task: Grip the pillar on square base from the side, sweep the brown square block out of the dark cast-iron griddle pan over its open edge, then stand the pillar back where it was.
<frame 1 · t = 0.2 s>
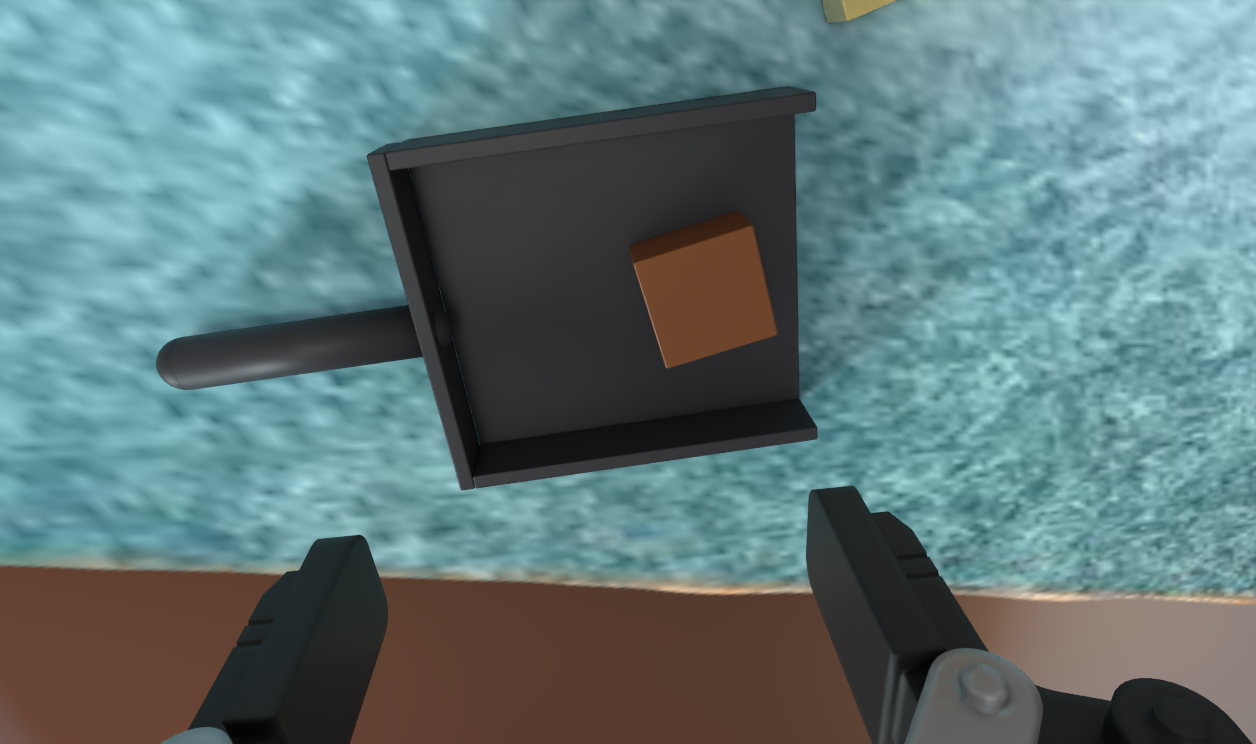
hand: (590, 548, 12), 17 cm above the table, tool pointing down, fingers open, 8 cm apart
pan: (621, 285, 28), on the table
brown square block: (697, 279, 27), point 1 cm above the table, touching pan
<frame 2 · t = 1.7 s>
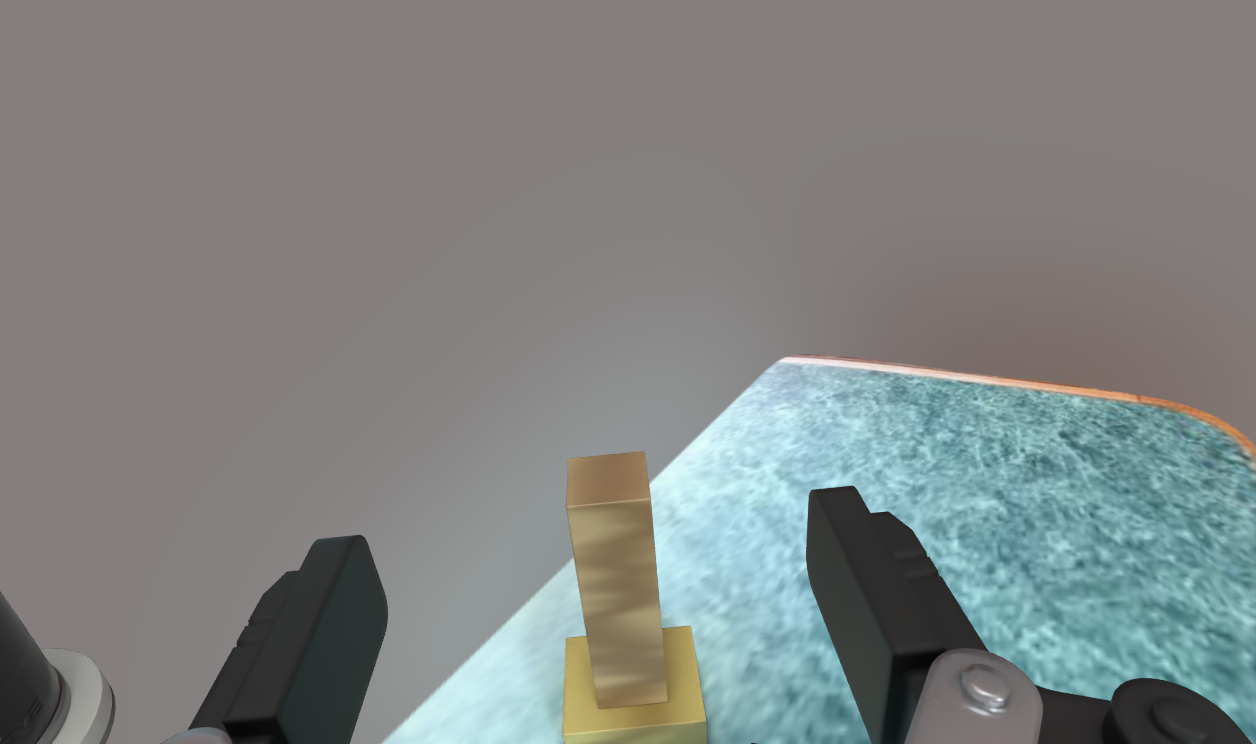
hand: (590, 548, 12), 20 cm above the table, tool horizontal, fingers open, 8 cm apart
pillar on square base: (634, 705, 32), on the table
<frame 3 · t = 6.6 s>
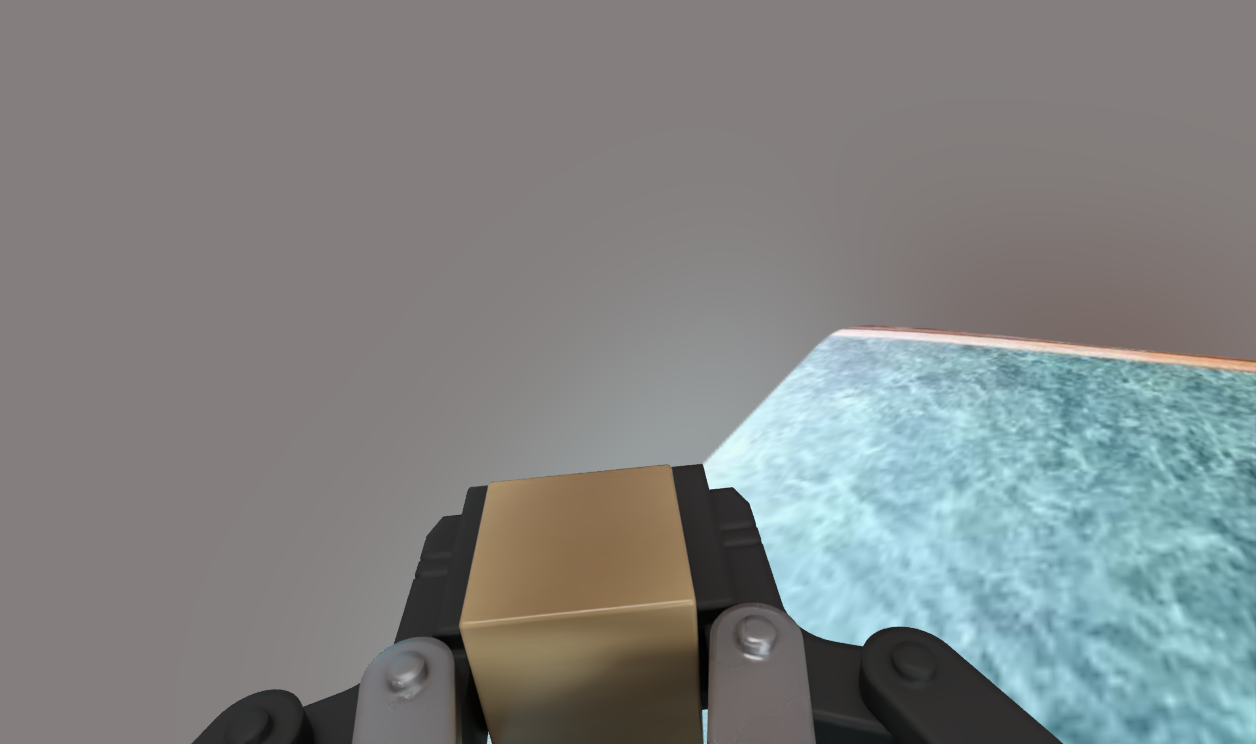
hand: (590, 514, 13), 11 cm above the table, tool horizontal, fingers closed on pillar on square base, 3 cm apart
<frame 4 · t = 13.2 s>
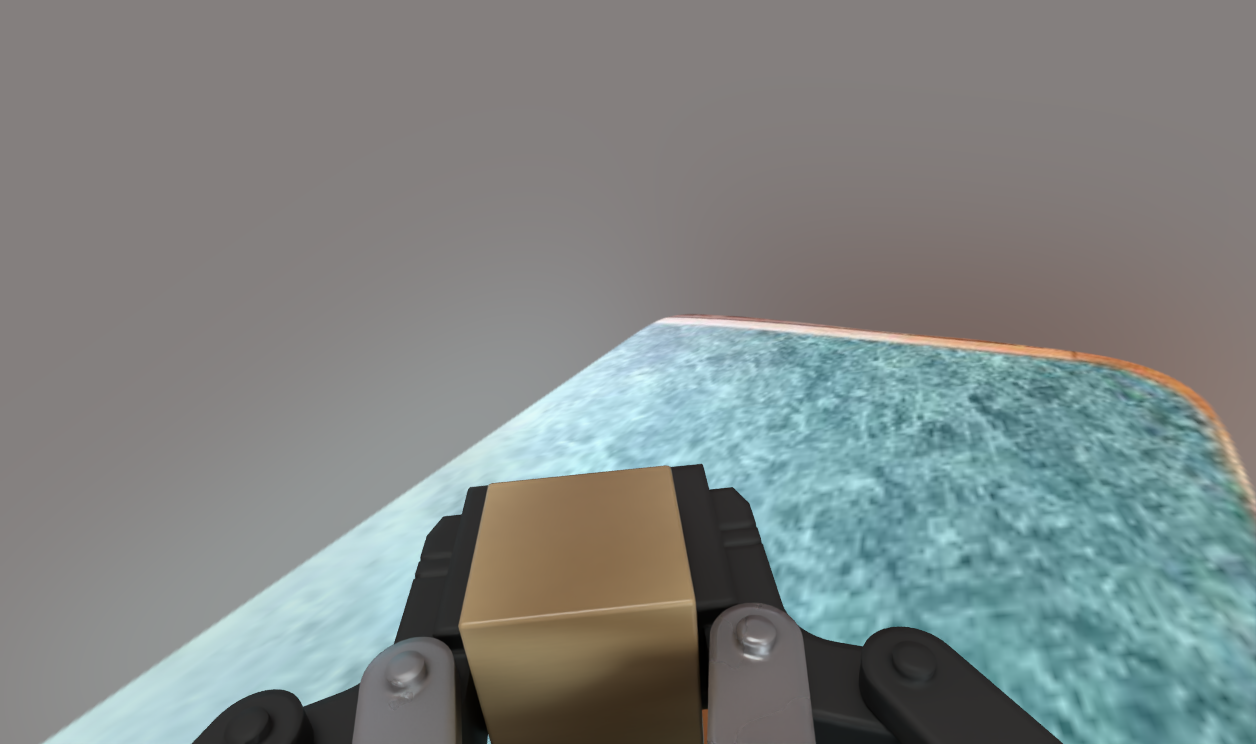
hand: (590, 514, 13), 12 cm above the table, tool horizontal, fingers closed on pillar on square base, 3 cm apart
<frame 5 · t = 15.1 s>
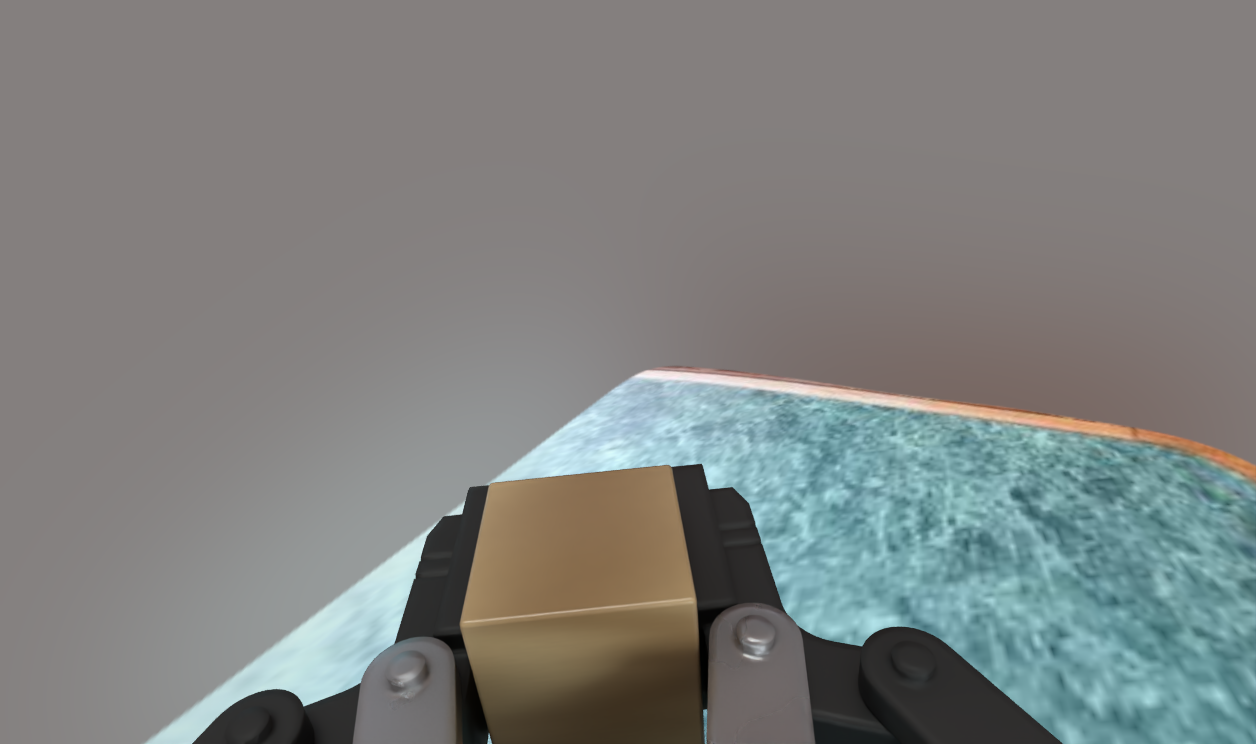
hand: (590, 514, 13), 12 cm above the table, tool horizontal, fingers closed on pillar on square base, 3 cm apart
when the fingers open (11 cm above the table, at t = 21.2 s): pillar on square base stays where it is, on the table.
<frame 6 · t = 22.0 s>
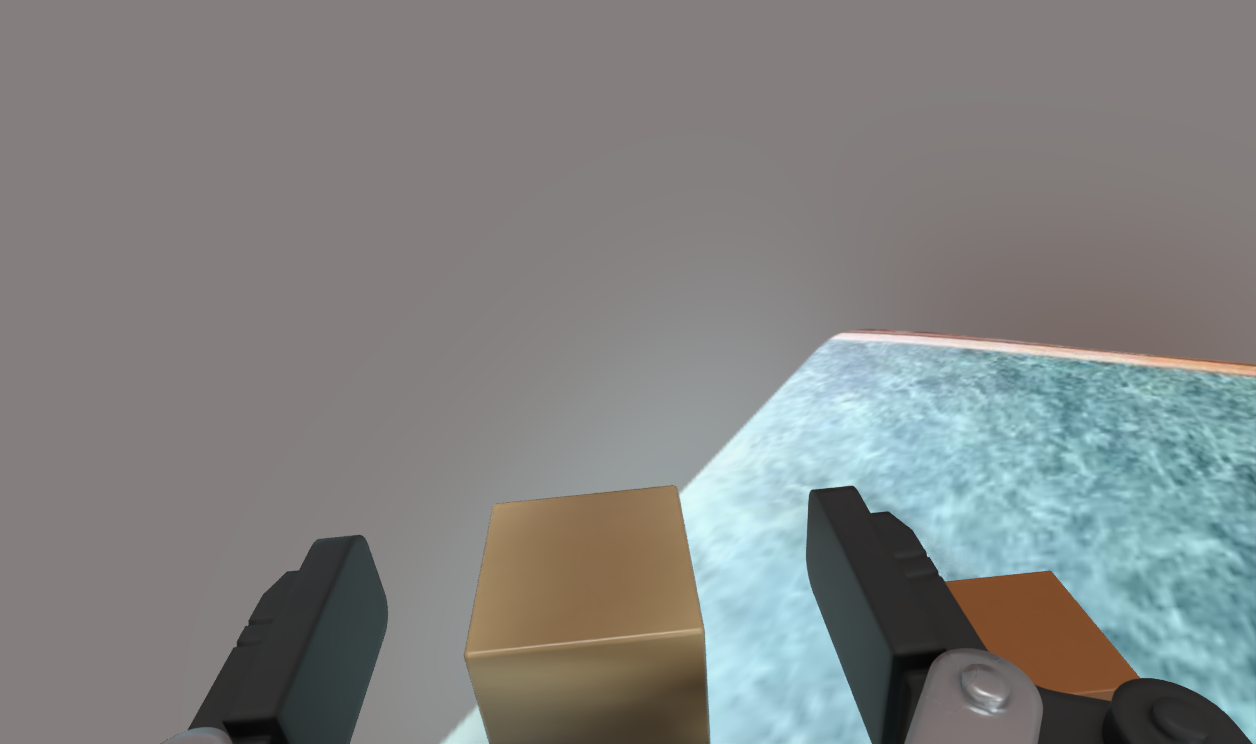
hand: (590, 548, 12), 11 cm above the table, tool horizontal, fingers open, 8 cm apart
brown square block: (1008, 683, 22), on the table
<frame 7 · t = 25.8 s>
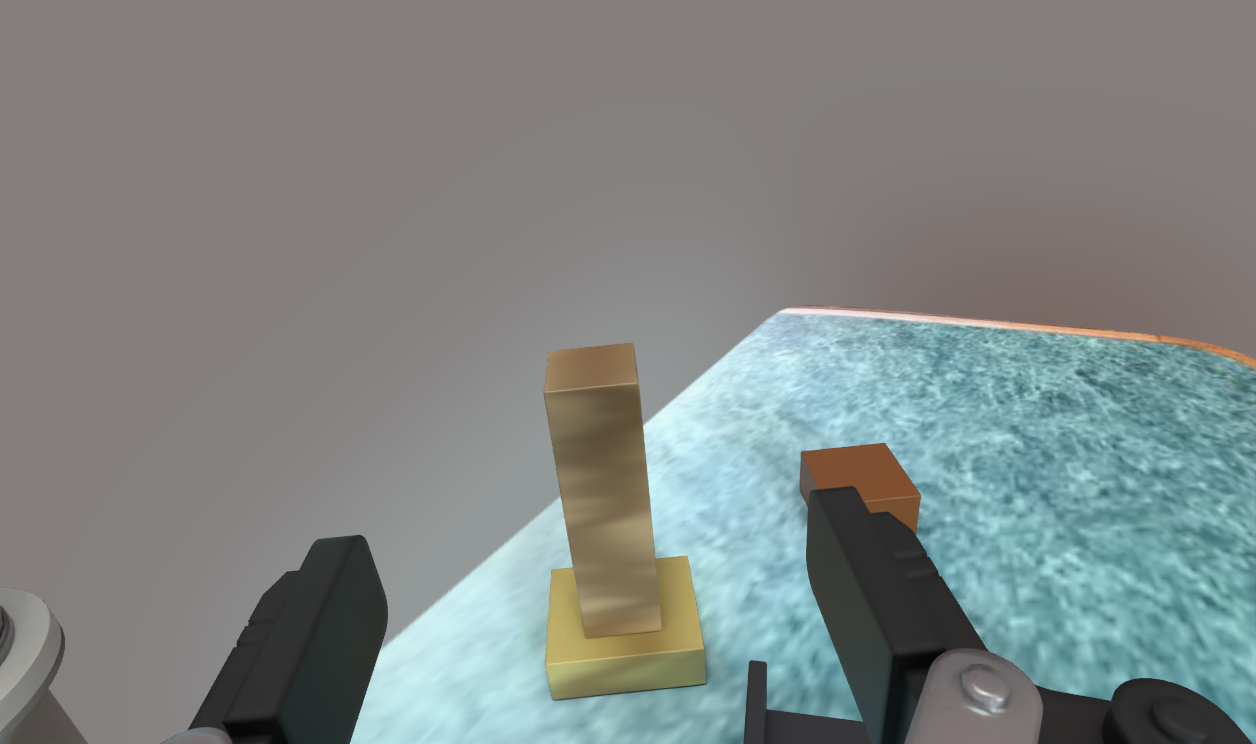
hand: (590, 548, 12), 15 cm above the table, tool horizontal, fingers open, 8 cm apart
pillar on square base: (626, 640, 29), on the table
brown square block: (854, 510, 35), on the table
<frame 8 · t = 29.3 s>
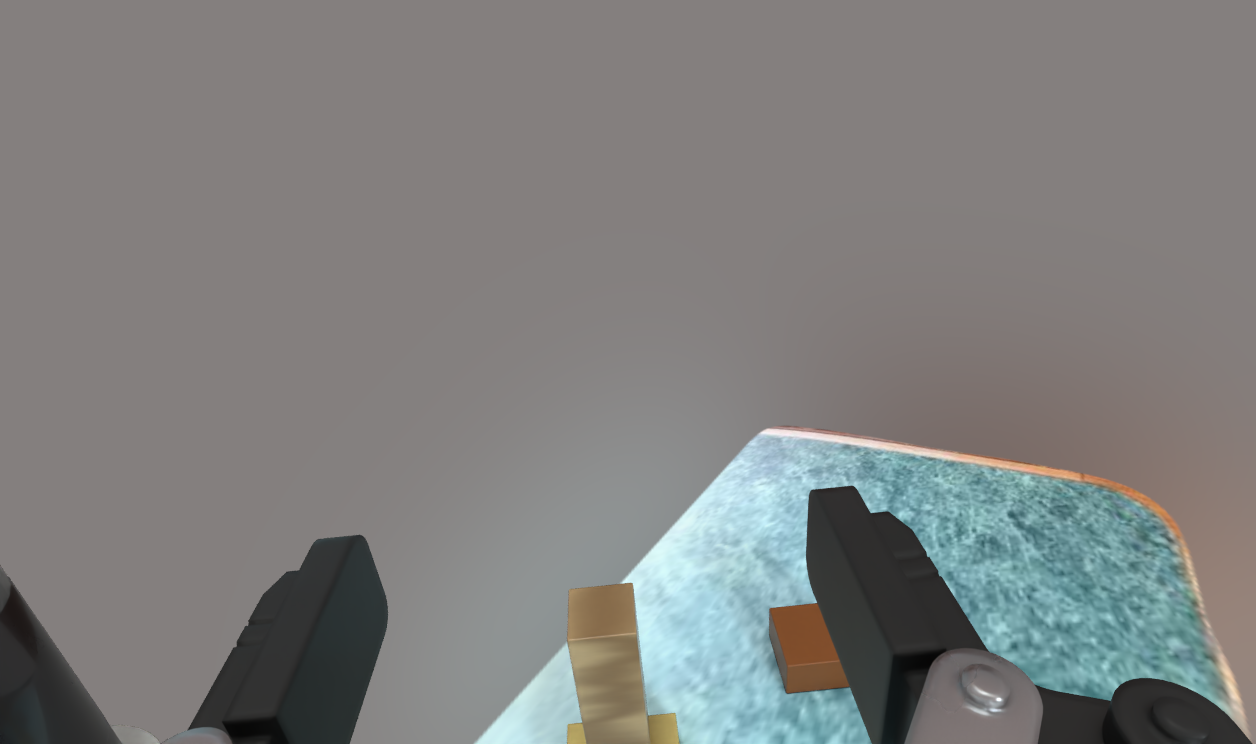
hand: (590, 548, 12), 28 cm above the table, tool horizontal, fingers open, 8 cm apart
brown square block: (812, 659, 43), on the table
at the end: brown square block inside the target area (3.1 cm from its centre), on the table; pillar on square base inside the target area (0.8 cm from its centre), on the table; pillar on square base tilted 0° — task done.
